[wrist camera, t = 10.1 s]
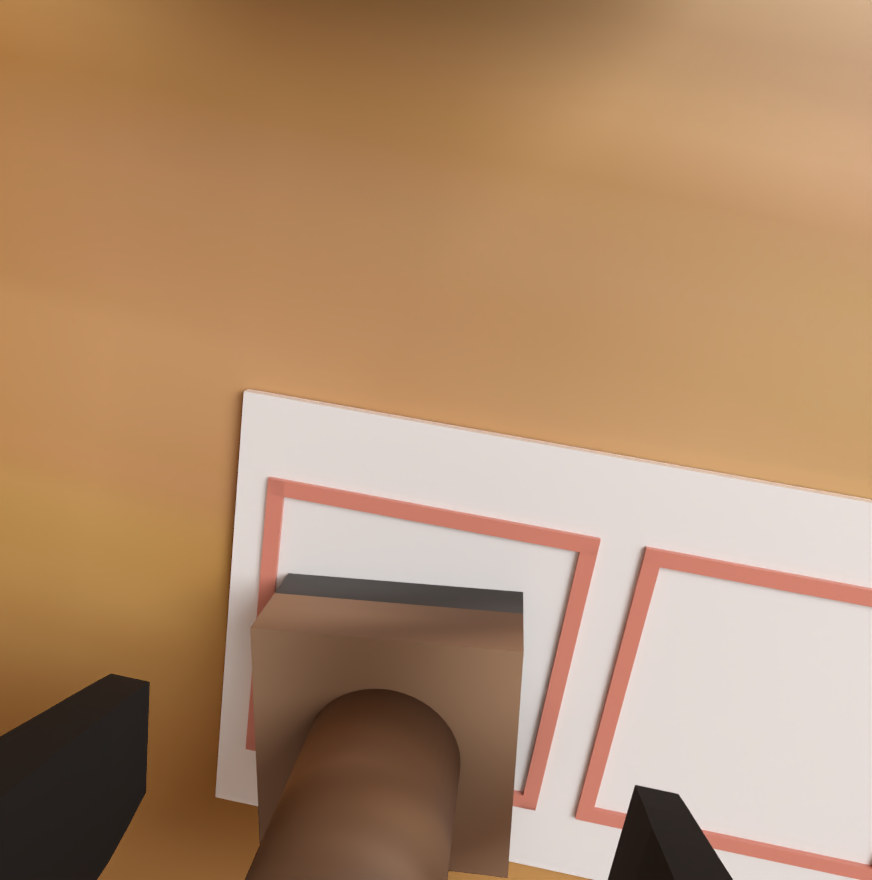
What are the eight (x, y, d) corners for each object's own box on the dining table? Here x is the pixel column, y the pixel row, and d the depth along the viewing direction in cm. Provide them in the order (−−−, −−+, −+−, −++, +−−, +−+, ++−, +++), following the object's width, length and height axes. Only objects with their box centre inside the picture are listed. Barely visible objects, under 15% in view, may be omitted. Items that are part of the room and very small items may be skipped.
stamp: (523, 591, 13) (525, 835, 8) (509, 792, 14) (502, 1125, 9) (288, 573, 13) (135, 791, 8) (294, 768, 15) (163, 1071, 9)
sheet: (1066, 533, 12) (1078, 541, 12) (882, 934, 15) (890, 948, 14) (247, 388, 13) (241, 392, 12) (218, 790, 15) (213, 800, 15)
